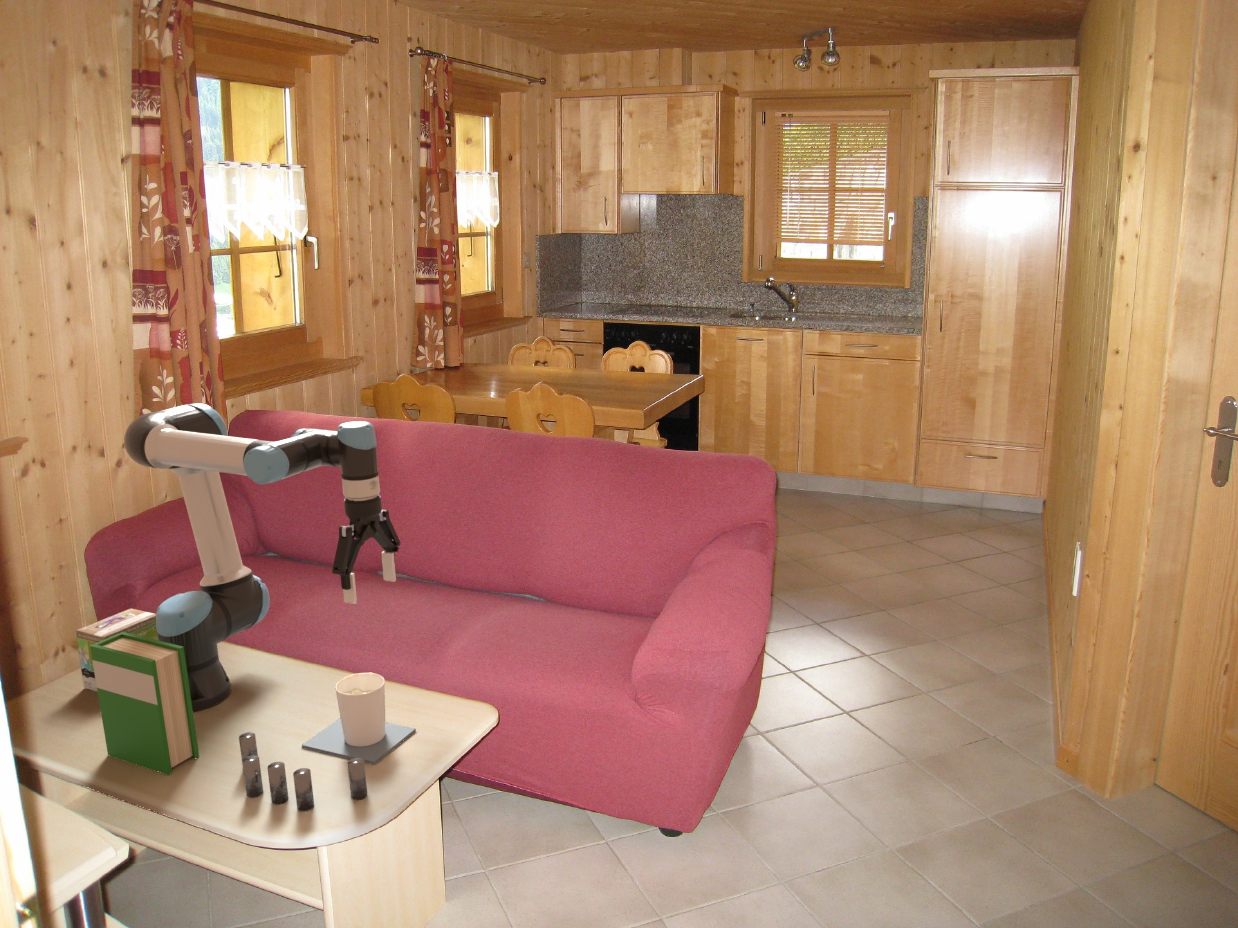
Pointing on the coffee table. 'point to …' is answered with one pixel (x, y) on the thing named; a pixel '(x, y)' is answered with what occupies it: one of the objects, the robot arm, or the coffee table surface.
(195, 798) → the coffee table surface
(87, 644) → the tea box
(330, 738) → the mat
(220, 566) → the robot arm
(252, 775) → the spacer posts
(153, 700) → the hardback book
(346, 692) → the candle holder
